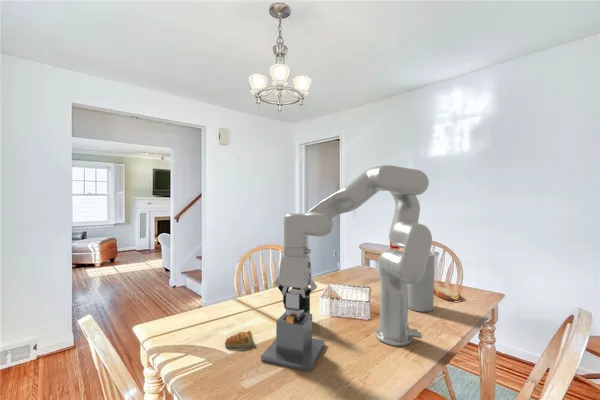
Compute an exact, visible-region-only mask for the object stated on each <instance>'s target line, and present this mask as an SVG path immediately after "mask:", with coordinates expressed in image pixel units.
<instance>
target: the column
mask: <svg viewBox="0 0 600 400" xmlns="http://www.w3.org/2000/svg"><path fill="white" fill-rule="evenodd" d="M301 297H302V294H301V290H295V289H292V288H290V289H289V291H288V292H287V293H286V307H285V308H284V310H285V312H286V315H285V317H287V316H292V317H295V322H301V321H302V320H303V319H304V309H303V310H301V309H300V298H301Z"/></svg>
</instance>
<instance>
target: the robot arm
mask: <svg viewBox="0 0 600 400" xmlns="http://www.w3.org/2000/svg"><path fill="white" fill-rule="evenodd" d="M429 185H430V181H429V178H428V175H427V174H426V173H425V172H424V171H422V170H420V169H415V168H409V167H401V166H398V165H397V166H396V165H389V164H383V165H378V166H372V167H369V168H367V169H366V170H365V171H363V172H362V173H360V174H359V175H358V176H357V177H355V178H354V179H353V180H352V181H350V182H349V183H347V185H345V186H344V187H342V188H341V189H340V190H338V191H336V192H334V193H333V194H331V195H330V196H328V197H327V198H325V199H323V200H322V201H320V202H319V203H317V204H316V205H314V206H313V207H312V208H311V209H309V210H308V211H307V212H305V214H304V213H287V214H285V215H284V218H283V254H282V255H281V260H280V264H279V271H278V272H279V273H278V275H279V276H278V277H276V279H275V280H274V282H273V284H274V285H275V286H276V287H277V288H278V290H279V291H280V293H281V295H282V297H283V298H282V301H283V302H282V305H283V304H284V305H283V307H284V309H285V307H286V293H287V292H288V291H289V290H290V288H292V287H293V288H300V290H301V294H302V297H301V298H300V309H301V310H303V309H304V308H305V307H306V306H307V295H308V294H310V295H311V293H312V292H314V291H315V290H316V289H317V288H318V285H317V284H316V282H315V280H314V279H313V276H312V275H313V274H312V273H313V271H312V263H311V258H310V255H308V254H311V253H312V249H310V248H309V247H308V236H312V237H318V238H319V237H325V236H328V235H329V234H330V233H331V232H332V230H333V227H334V226H333V225H334V224H333V220H332V219H334V218H336V217H337V216H340V215H341V214H345V213H349V212H352V211H355V210H357V209H359V208H360V207H361V206H362V205H364V203H366V202H367V201H368V200H369V199H371V198H372V197H373V196H375V195H376V194H378V193H379V192H382V191H383V192H387V191H388V192H389V193H390V194H391V196H392V197H393V199H394V203H395V209H394V213H393V218H392V222H391V225H390V229H389V235H388V239H389V242H390V243H391V244H392V245H394V246H396V247H398V248H402V249H403V251H401V250H398V249H392V248H391V249H385V250H384V251H383V252H382V253H380V255H379V257H378V262H377V265H378V267H377V268H378V273H379V279H380V280H379V281H380V283H379V284H380V294H379V295H380V296H379V297H380V299H379V300H380V306H379V307H380V308H379V309H380V310H379V327H378V328H376V330H375V337H376V338H377V340H379V341H381V342H382V343H385V344H388V345H391V346H397V347H398V346H399V347H402V346H407V345H409V344H412V342H413V337H414V338H417V339H422V337H423V336H422V335H423V334H422V332H421V331H418V329H417V328H411V327H409V325H410V324H409V321H408V319H409V317H408V316H409V308H408V285H407V284H416V283H418V282H419V281H420V280H421V279H422V277H423V275H424V273H425V270H426V266H427V262H428V258H429V254H430V253H431V250H432V245H433V237H432V232H431V230H430V229H429V228H428V226H426V225H425V224H423V223H419V219H420V214H421V205H420V201H419V199H418V197H417V196H420V195H423V193H425V192H427V190H428V188H429ZM309 286H310V287H309ZM307 287H308V288H309V289H308V290H307Z"/></svg>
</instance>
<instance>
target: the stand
mask: <svg viewBox="0 0 600 400" xmlns="http://www.w3.org/2000/svg"><path fill="white" fill-rule="evenodd" d="M285 315H286V311H285V312H284V313H283V314H282V315H281V316H280V317H279V318H278V319H277V320H276V323H275V324H276V328H275V329H276V330H275V331H276V335H275V336H276V338H275V339H274V340H273V342H272V343H271V344H270V345H269V347H268V348H267V349H265V351H264V352H263V353H262V354H261V355H260V360H261V361H262V362H266V363H269V364H274V365H279V366H282V367H283V366H284V367H286V368H292V369H295V370H299V371H304V372H309V373H311V372H312V370H313V368H314V367H315V364H316V362H317V360H318V359H319V356H320V354H322V351H323V349H324V348H325V345H326V341H325V340H324V339H318V338H315V337H313V313H310V314H309V313H304V319H303V320H302V321H301V322H295V317H292V316H287V317H285Z"/></svg>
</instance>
